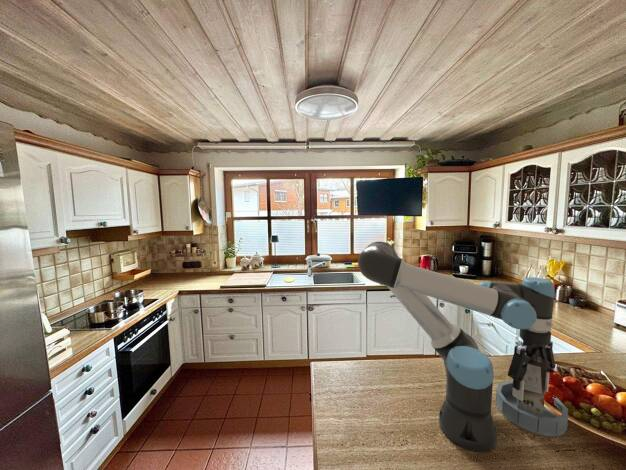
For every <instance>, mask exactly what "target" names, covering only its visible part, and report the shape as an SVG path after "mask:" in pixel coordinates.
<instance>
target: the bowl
mask: <svg viewBox="0 0 626 470" xmlns="http://www.w3.org/2000/svg"><path fill="white" fill-rule="evenodd" d="M512 392H513V380H506V381H503V382H499V383H497V386H496V393H495V403H496V404H495V405H496V407H497V409H498V411H499V412H500V414H501V415H503V417H504V418H506V419H507V420H508V421H509V422H511V423H512V424H514V425H516V426H518V427H519V428H521V429H523V430H525V431H527V432H529V433H532V434H535V435H539V436H543V437H547V438H549V437H550V438H557V437H560V436H561V437H562V436H563V435H564V434H566V432H567V430H568V423H569V422H568V421H569V414H568V413H569V411H568V407H567V406H566V405H565V404H564V403H563V402H562V401H561V400H560V399H559V398H558V397H556V398H554V397H552V398H553V399H554V405H555V406H556V407H557V408H558V409H559V410H560V411H561V412H562V415H561V416H557V415H555V414H553V413H551V412H550V411H548V410H547V409H546V408H545V407H544V406H543V417H538V416H535V415H533V414H530V413H527V412H525V411H522V410H520V409H518V408H517V398H516V397H514V396H513V395H512Z"/></svg>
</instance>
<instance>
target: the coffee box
mask: <svg viewBox="0 0 626 470" xmlns="http://www.w3.org/2000/svg"><path fill="white" fill-rule="evenodd" d="M525 356H526V357H528V356H527V355H525ZM528 358H530V357H528ZM524 364H526V362H523V365H524ZM546 371H547V366H546V358H544V359H543V358H541V357H536V358H535V359H534V361H533V362H529V363H528V364H527V371H526V373H525V375H524V377H523V379H522V380H524V394H523V401H520V400H519V399H517V408H518V409H520V410H522V411H525V412H527V413H530V414H533V415H535V416H538V417H543V406H544V395H545V383H546Z"/></svg>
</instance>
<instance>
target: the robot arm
mask: <svg viewBox="0 0 626 470" xmlns="http://www.w3.org/2000/svg"><path fill="white" fill-rule="evenodd" d="M357 267H358V270H359V271H360V273H361V275H362V276H364V278H366V279H368V280H369V281H371V282H373V283H376V284H379V285H380V286H385V287H387V288H388V289H389V291H390V293H392V294H393V295H394V296H395V298H396V299H397V300H398V301H399V303H401V304H402V306H403V307H404V308H405V309H406V311H407V312H408V314H410V315H411V317H412V318H413V319H414V320H415V321H416V323H417V324H418V325H419V326H420V327H421V328H422V329H423V331H424V332H425V333H426V334H427V335H428V337H430V339H431V340H430V344H431V347H432V348H433V349H434V350H435V352H436V353H437V354H438V355H439V356H440V357H441V359H442V360H443V364H444V370H445V376H446V385H445V399H444V401H443V403H442V406H441V407H440V410H439V414H438V423H439V427H440V429H441V431H442V432H443V434H444V435H445V436H446V437H447V438H448V439H449V440H451V441H452V442H453V443H455V444H457V446H459V447H462V448H464V449H467V450H469V451H473V452H478V453H480V452H481V453H484V452H485V453H486V452H490V451H492V450H493V449H495V448H496V446H497V444H498V430H497V427H496V425H495V424H494V423H495V422H494V419H493V414H492V402H493V401H492V400H493V382H494V379H495V377H494V376H495V374H494V365H493V363H492V360H491V359H490V358H489V357H488V356H487V355H486V354H485V353H484V352H481V351H480V348H479V345H478V344H477V342H476V341H475V339H474V338H473V337H472V336H471V335H470V334H468V333H467V332H465V331H464V330H463V329H462V328H461V327H460V326H459V325H458V324H453V323H451V322H450V320H449V319H448V318H447V317H446V316H445V315H444V314H443V313H442V312H441V311H440V309H439V308H438V307H437V306H436V305H435V304H434V303H433V301H432V300H431V298H433V299H436V300H439V301H440V300H441V301H443V302H446V303H449V304H452V305H456V306H459V307H462V308H464V309H468V310H470V311H474V312H477V313H480V314H483V315H487V316H489V317H492V318H495V319H498V320H501V321H502V322H504V323H505V324H506V325H508V326H509V327H511V328H513V329H515V330H516V329H517V330H519V333H518V334H519V337H520V339H521V340H522V344H521V346H518V345H514V349H513V356H512V357H511V358H512V359H511V361H510V366H509V368H508V372H507V376H508V377H509V378H511V379H512V381H513V392H512V395H513V396H514V397H516V398H517V399H519V400H520V401H523V394H524V380H522V379H523V377H524V375H525V373H526V371H527V364H528V363H529V362H533V361H534V359H535V358H536V357H541V358H543V359H544V358H546V366H547V371H546V383H545V392H548V393H549V383H550V373H551V374H554V373H555V369H556V362H555V356H554V350H553V345H554V343H553V341H552V340H551V339H552V332H551V331H552V327H553V313H554V303H555V298H556V295H555V294H556V293H555V292H556V291H555V283H553V281H551V280H549V279H546V278H541V277H524V278H523V279H522V283H508V282H506V283H505V282H504V283H503V282H496V281H495V282H494V281H481V282H479V283H474V282H471V281H468V280H463V279H460V278H457V277H453V276H450V275H447V274H445V273H444V274H443V273H440V272H436V271H433V270H430V269H427V268H423V267H420V266H416V265H413V264H409V263H407V262H405V260H404V258H401V257H399V256H398V255H397V252H396V250H395V249H394V247H393V246H392V245H391V244H389V243H388V242H385V241H374V242H371V243H369V244H368V245H367V246H366V247H365V248H364V249H363V250H362V251H361V252H360V254H359V256H358V259H357ZM525 355H527V356H528V357H530V358H528V357H526V356H525ZM523 362H526V364H524V365H523Z"/></svg>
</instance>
